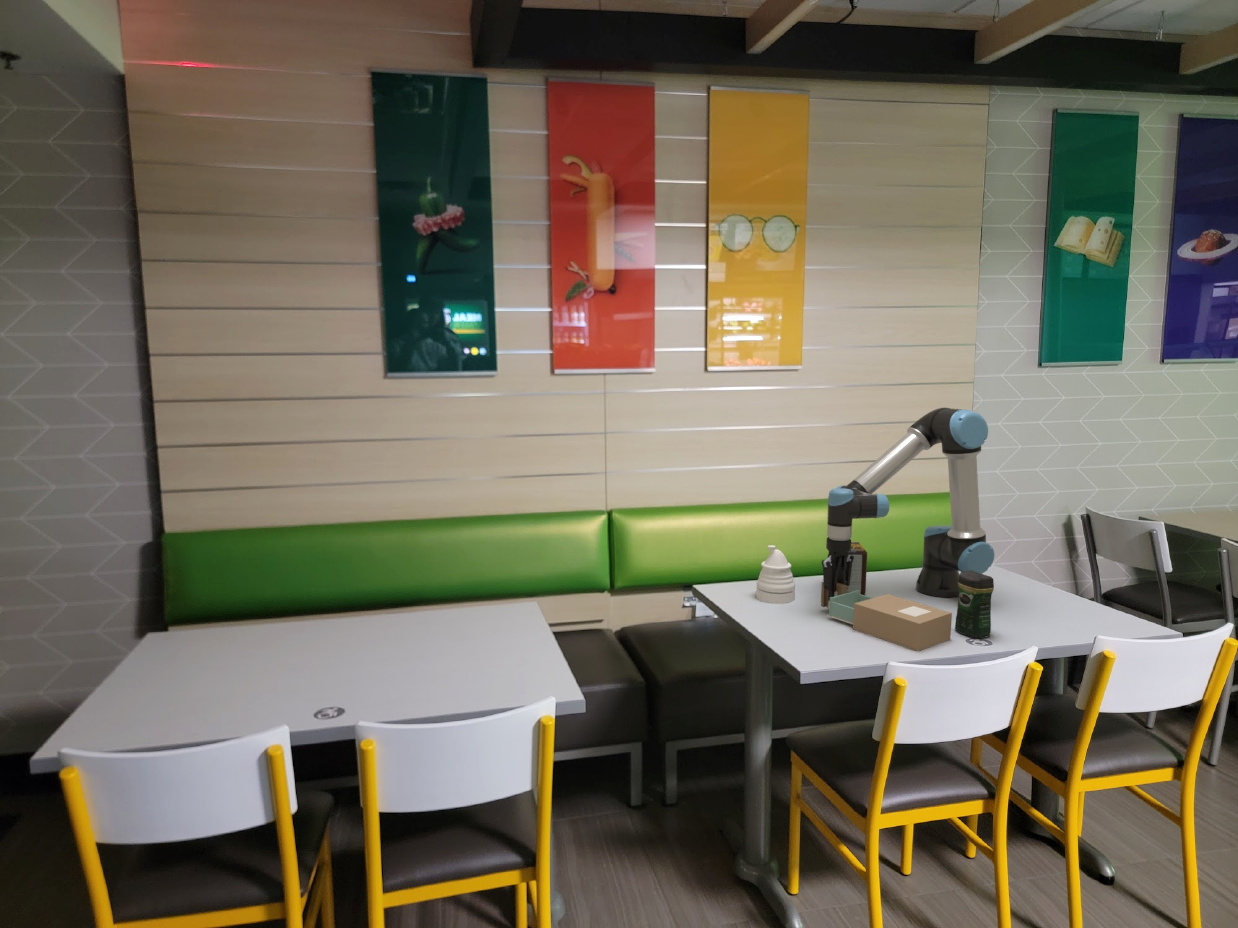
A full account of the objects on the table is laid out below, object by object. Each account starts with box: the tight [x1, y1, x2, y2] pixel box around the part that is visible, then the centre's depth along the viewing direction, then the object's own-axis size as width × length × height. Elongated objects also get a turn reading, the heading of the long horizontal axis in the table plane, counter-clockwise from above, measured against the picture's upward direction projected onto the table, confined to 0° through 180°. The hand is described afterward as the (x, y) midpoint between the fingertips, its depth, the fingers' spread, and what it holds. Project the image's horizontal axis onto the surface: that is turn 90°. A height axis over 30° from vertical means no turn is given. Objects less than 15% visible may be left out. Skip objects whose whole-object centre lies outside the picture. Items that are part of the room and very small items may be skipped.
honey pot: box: [755, 544, 796, 605], centre depth 272 cm, size 13×13×18 cm
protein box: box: [835, 541, 868, 596], centre depth 282 cm, size 10×15×16 cm
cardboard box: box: [852, 593, 953, 652], centre depth 238 cm, size 16×22×8 cm
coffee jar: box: [954, 570, 995, 639], centre depth 239 cm, size 10×8×19 cm
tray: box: [820, 581, 873, 625], centre depth 249 cm, size 14×28×8 cm, turn 36°
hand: (835, 609), depth 258 cm, fingers closed on tray, 2 cm apart
